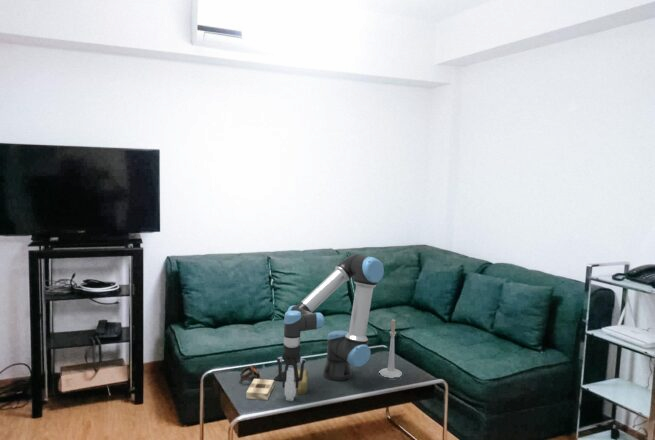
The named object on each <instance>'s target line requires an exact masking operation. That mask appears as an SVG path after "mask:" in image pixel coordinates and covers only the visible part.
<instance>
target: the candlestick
mask: <svg viewBox="0 0 655 440" xmlns="http://www.w3.org/2000/svg"><path fill="white" fill-rule="evenodd" d="M390 324H391V325H390V331H389V335H390V341H389V342H390V343H389V344H390V345H389V350H388V351H389V353H388V362H387V367H385V368H382V369H380V370H379V372H378V374H379V373H380V374H381V375H382V376H384V377H389V378H394V377H400V376H401V375H402V373H403V372H402V371H401V370H399V369H397V368H396V367H395V365H396V364H395V336H396V334H397V332H396V319H394V318H393V319H391V323H390Z"/></svg>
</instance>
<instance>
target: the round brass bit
mask: <svg viewBox="0 0 655 440" xmlns="http://www.w3.org/2000/svg"><path fill="white" fill-rule="evenodd" d="M300 369H301V368H297V370H298V377H300ZM308 372H309V371H308V370H307V369H305V368H304V370H303V379H302V381H299V384H298V389H297V388H296V394H298V395H302V394H303V395H304V394H306V393H307V392H308V374H309V373H308Z"/></svg>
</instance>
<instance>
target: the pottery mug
mask: <svg viewBox="0 0 655 440" xmlns="http://www.w3.org/2000/svg"><path fill="white" fill-rule="evenodd" d="M247 371H249V372H248V373H246V372H247ZM245 373H246V374H245ZM239 376H240V381H246V380H248V381H250V377H255V378H256V379H262V377H261V374H260V372H259V371H258V370H257V366H256V365H250V366H249V365H248V366H246V367H244V368H243V369H242V370H241V371H240V374H239Z"/></svg>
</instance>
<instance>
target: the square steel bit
mask: <svg viewBox="0 0 655 440" xmlns="http://www.w3.org/2000/svg"><path fill="white" fill-rule="evenodd" d="M294 381H295V374H294V368H293V367H288V370H287V380H286V395H285V400H286V401H292V402H293V401H294V399H295V396H293V394H294Z"/></svg>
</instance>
